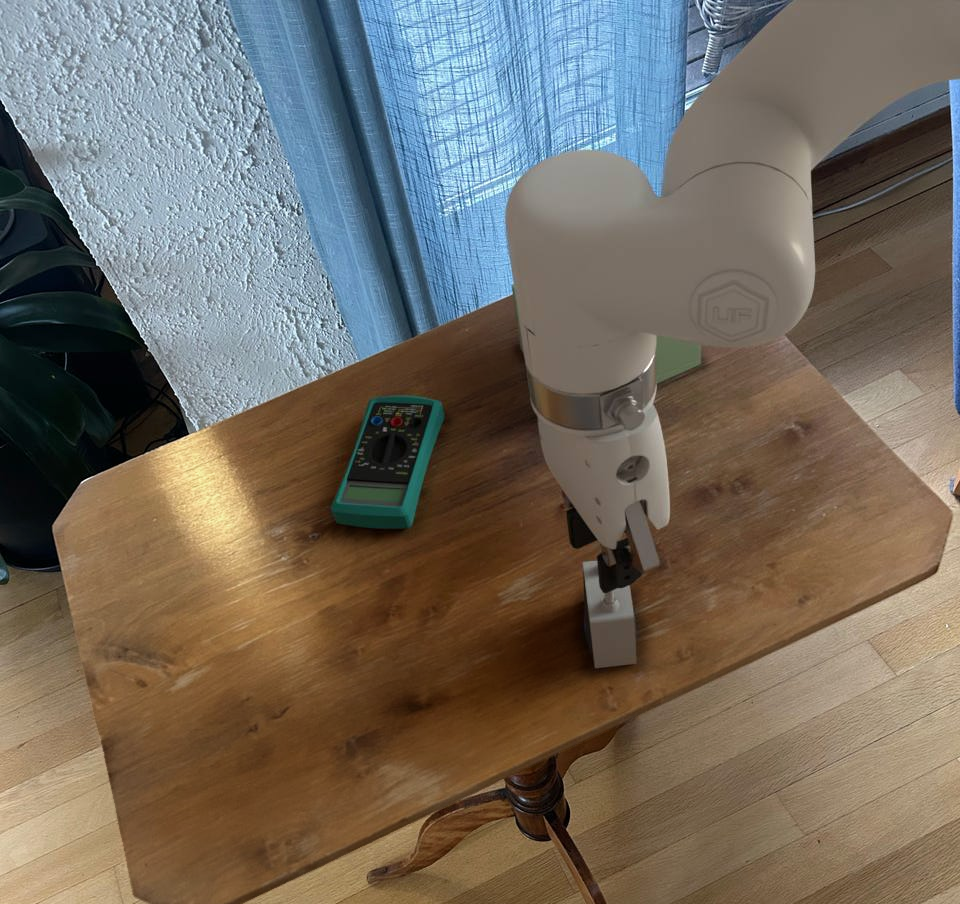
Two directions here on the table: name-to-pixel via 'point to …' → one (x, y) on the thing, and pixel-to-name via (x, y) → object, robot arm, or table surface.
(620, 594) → the padlock
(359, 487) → the digital multimeter
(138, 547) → the table surface
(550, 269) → the robot arm
